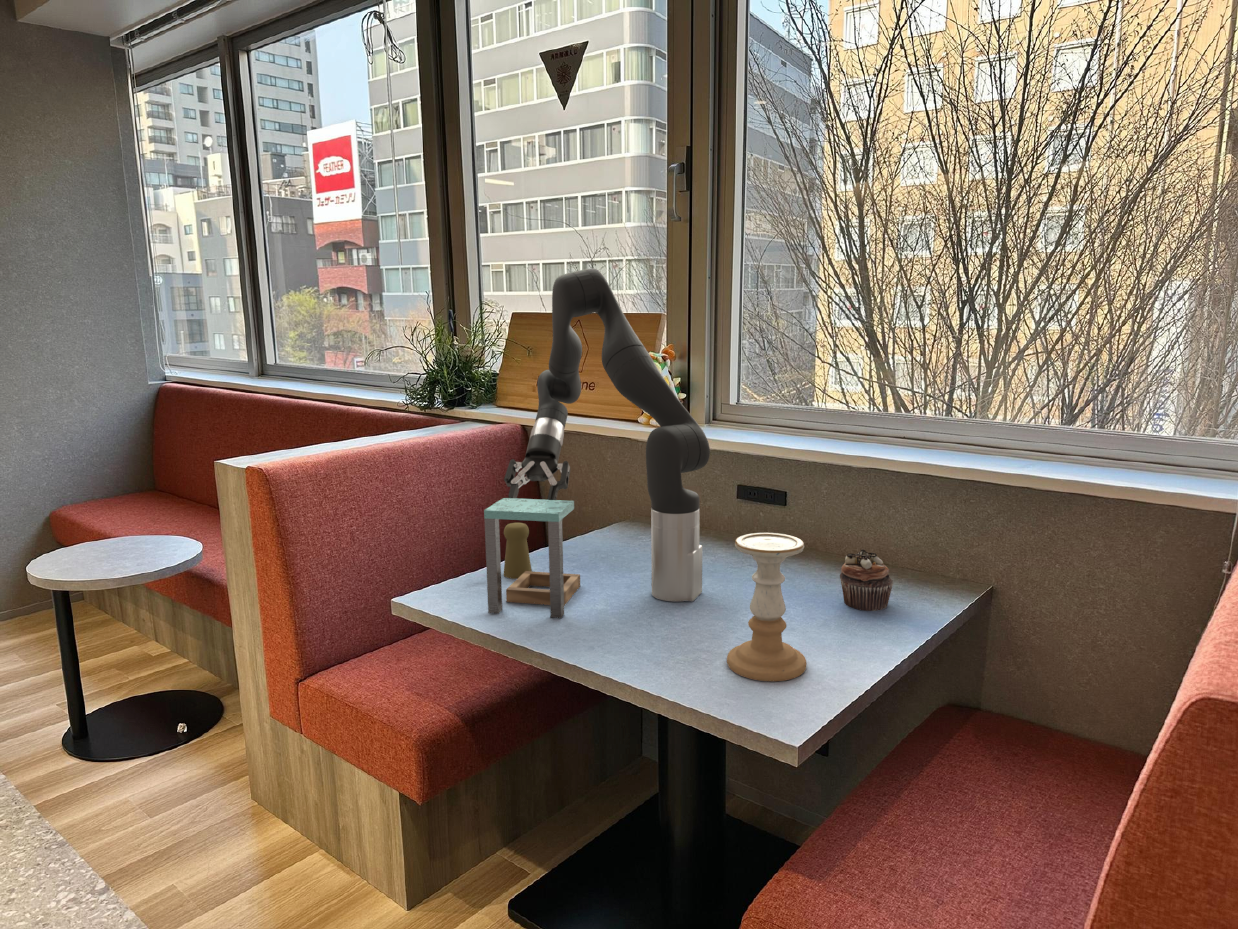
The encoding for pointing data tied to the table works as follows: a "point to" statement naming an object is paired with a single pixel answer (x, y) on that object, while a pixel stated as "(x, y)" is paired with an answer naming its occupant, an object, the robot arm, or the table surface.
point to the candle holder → (767, 612)
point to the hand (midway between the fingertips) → (531, 502)
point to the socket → (524, 594)
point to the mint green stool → (554, 515)
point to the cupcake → (865, 582)
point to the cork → (516, 550)
